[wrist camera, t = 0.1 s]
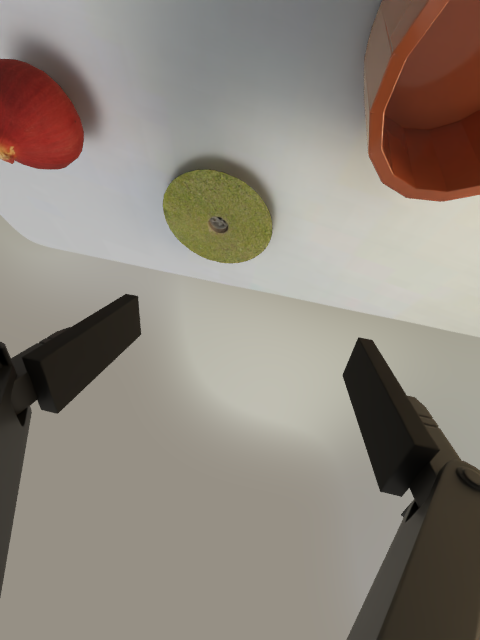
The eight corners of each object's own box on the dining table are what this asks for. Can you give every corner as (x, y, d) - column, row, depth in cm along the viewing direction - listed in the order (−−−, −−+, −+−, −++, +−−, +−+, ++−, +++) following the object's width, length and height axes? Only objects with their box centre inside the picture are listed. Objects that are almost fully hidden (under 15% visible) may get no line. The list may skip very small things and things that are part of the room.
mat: (164, 228, 29) (158, 239, 28) (176, 130, 19) (168, 144, 18) (249, 263, 32) (246, 275, 31) (296, 194, 22) (294, 208, 21)
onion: (37, 120, 21) (-27, 177, 17) (-3, 21, 16) (-106, 73, 12) (107, 149, 22) (60, 208, 18) (91, 65, 17) (21, 124, 13)
